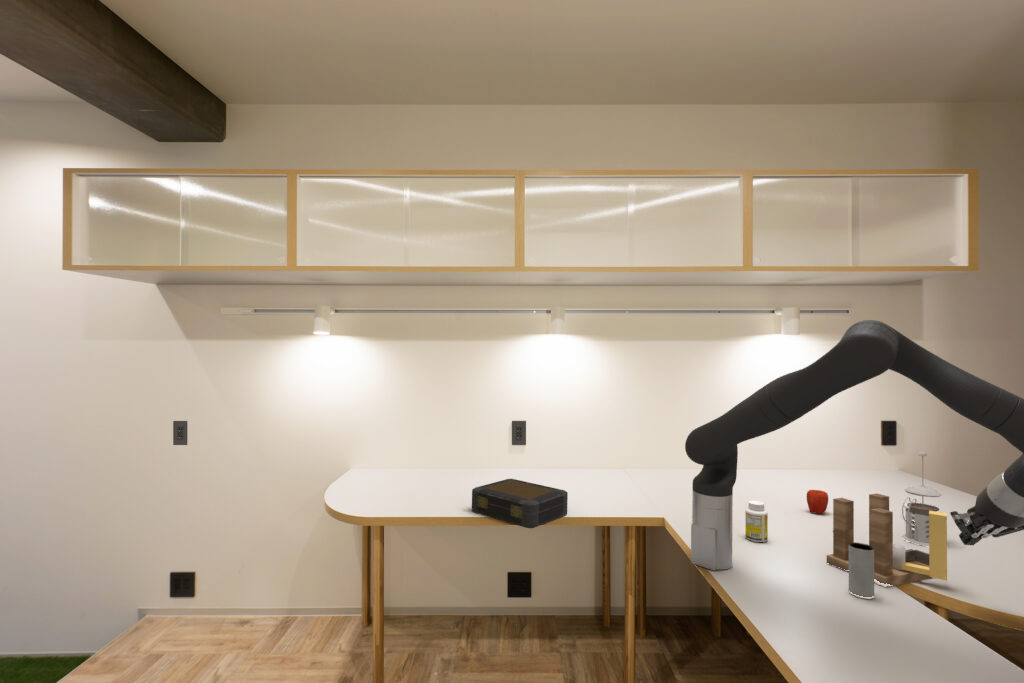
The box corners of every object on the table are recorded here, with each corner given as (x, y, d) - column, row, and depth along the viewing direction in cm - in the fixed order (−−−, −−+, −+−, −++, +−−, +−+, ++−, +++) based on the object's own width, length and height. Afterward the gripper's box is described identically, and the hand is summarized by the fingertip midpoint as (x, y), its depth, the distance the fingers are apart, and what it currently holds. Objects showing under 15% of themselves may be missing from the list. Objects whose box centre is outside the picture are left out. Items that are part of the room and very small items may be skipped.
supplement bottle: (760, 536, 145) (760, 499, 146) (771, 543, 140) (771, 505, 140) (741, 536, 145) (741, 499, 145) (752, 543, 139) (752, 505, 140)
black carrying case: (570, 514, 163) (570, 490, 163) (531, 530, 147) (531, 503, 148) (510, 499, 179) (511, 477, 179) (469, 512, 164) (469, 488, 164)
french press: (955, 546, 140) (954, 454, 140) (924, 550, 136) (923, 455, 137) (917, 534, 149) (917, 447, 150) (887, 537, 146) (887, 449, 147)
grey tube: (851, 597, 109) (851, 548, 109) (846, 588, 113) (846, 541, 113) (877, 601, 107) (877, 551, 107) (870, 591, 111) (870, 544, 112)
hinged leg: (892, 568, 118) (891, 507, 119) (892, 564, 121) (892, 504, 121) (947, 580, 112) (946, 516, 113) (946, 576, 115) (946, 513, 115)
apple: (817, 516, 164) (817, 493, 164) (801, 511, 170) (801, 488, 170) (833, 515, 166) (833, 492, 166) (817, 509, 172) (817, 487, 172)
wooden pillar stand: (885, 587, 113) (885, 514, 114) (826, 563, 126) (826, 498, 127) (937, 576, 120) (937, 507, 121) (876, 554, 133) (876, 492, 134)
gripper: (983, 514, 93) (938, 556, 105) (1067, 519, 91) (1012, 561, 103) (962, 477, 99) (922, 521, 110) (1041, 481, 97) (991, 526, 108)
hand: (965, 540), depth 107 cm, fingers closed
